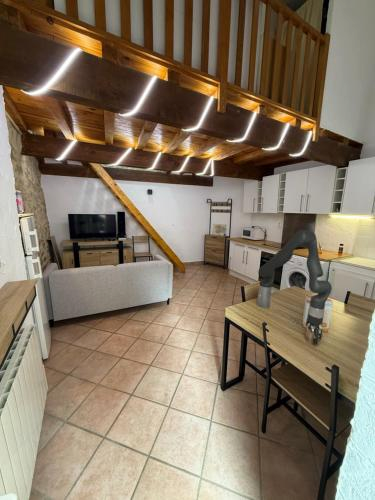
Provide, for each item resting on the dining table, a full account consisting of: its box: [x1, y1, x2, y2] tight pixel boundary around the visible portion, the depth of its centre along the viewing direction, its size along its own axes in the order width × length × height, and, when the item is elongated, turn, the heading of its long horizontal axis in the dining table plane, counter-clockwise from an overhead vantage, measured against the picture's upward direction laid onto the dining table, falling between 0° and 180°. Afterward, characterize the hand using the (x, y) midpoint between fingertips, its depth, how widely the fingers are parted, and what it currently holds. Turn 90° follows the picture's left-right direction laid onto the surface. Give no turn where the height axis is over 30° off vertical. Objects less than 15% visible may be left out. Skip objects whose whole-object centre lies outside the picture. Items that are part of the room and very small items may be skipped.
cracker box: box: [302, 295, 334, 333], centre depth 131 cm, size 14×6×21 cm, turn 68°
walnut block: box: [304, 328, 320, 346], centre depth 117 cm, size 5×5×7 cm
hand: (311, 339), depth 118 cm, fingers open, 8 cm apart
